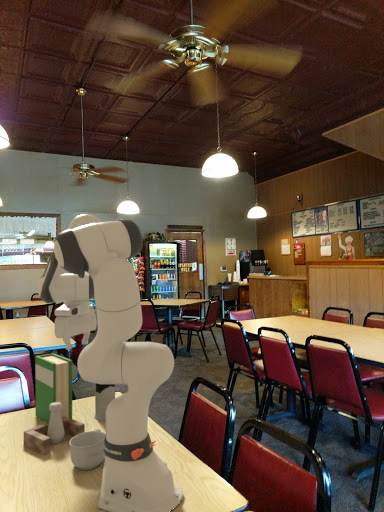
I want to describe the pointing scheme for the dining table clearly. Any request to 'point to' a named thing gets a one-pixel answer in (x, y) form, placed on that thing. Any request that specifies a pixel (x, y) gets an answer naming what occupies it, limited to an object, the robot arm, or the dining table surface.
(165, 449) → the dining table surface
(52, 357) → the hardback book
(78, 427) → the walnut holder
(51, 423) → the salt shaker
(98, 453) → the teacup
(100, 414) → the tall mug
